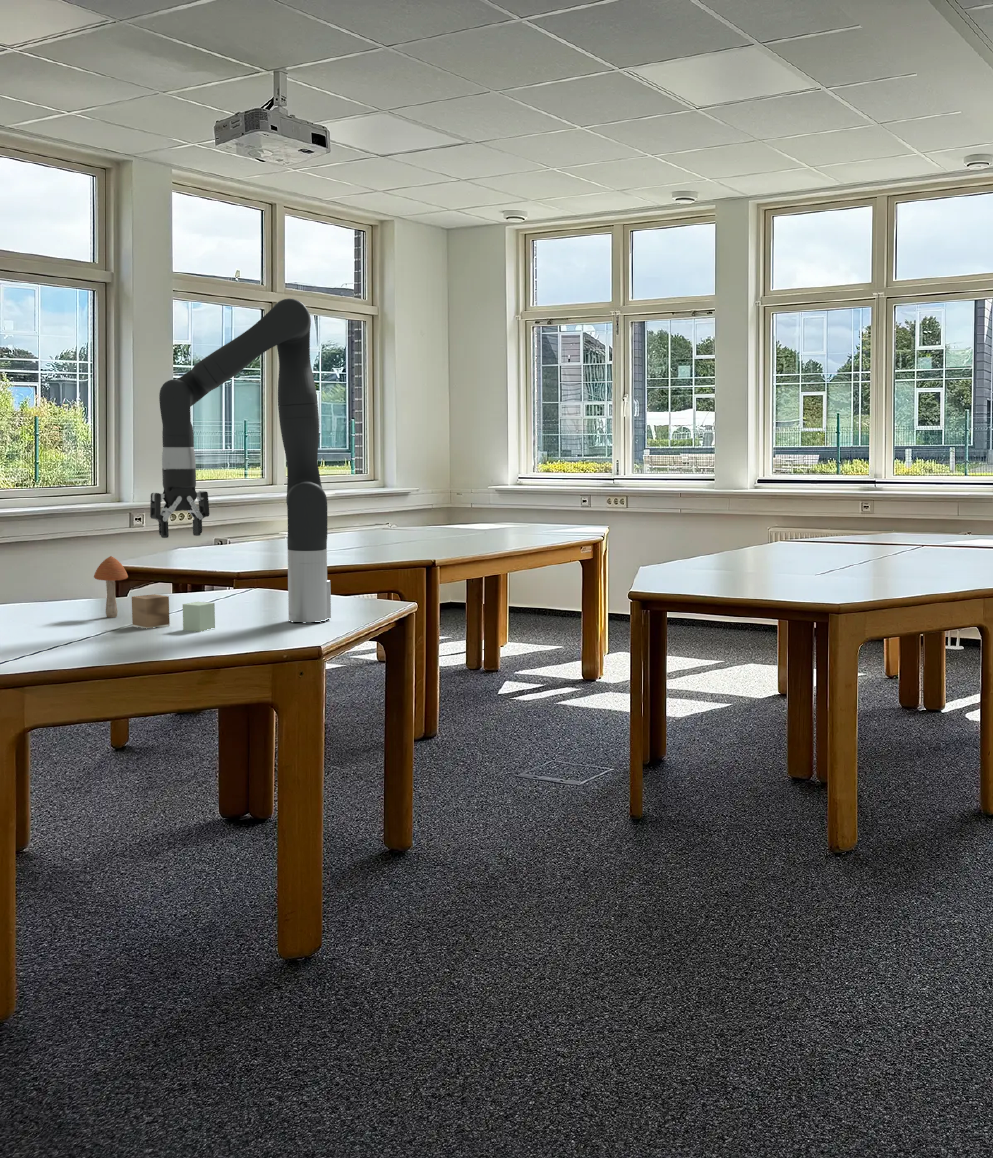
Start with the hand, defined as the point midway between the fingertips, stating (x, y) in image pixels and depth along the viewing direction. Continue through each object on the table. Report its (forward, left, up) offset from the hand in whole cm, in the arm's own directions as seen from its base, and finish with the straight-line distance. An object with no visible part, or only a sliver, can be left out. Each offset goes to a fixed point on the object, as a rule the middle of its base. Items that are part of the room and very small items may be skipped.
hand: (180, 536), depth 276 cm
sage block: (+3, +11, -20) cm, 23 cm away
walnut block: (+8, -1, -20) cm, 22 cm away
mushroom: (+7, -20, -21) cm, 30 cm away
